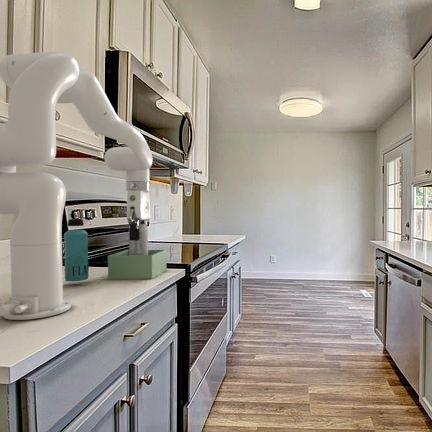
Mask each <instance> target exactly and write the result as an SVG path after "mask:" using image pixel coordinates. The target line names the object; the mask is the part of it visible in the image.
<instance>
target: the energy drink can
mask: <svg viewBox="0 0 432 432" xmlns="http://www.w3.org/2000/svg"><path fill="white" fill-rule="evenodd" d="M138 228H140V240H130V238H129V237H128V250H129V256H148V250H149V228H148V226H147V227H146V224H139V227H138Z"/></svg>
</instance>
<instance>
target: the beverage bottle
mask: <svg viewBox="0 0 432 432" xmlns="http://www.w3.org/2000/svg"><path fill="white" fill-rule="evenodd" d="M67 227H84V219H83V218H71V219H68V220H67ZM88 235H89V234H88V232H87V231H86V230H84V229H68V230H67V231H66V232H64V234H63V239H64V242H63V244H64V280H65V282H70V283H71V282H82V281H86V280H88V279H89V272H90V270H89V269H90V267H89V240H88V239H89V238H88Z"/></svg>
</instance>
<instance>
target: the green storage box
mask: <svg viewBox="0 0 432 432" xmlns="http://www.w3.org/2000/svg"><path fill="white" fill-rule="evenodd" d="M167 266H168V265H167V249H148V256H129V249H125V250H123V251H119V252H116V253H112V254H109V255H107V279H108V280H152V279H154V278H157V276H159V275H161V274H163V273H164V272H166V271H167Z"/></svg>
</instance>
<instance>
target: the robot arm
mask: <svg viewBox="0 0 432 432" xmlns="http://www.w3.org/2000/svg"><path fill="white" fill-rule="evenodd" d="M0 78H1V80H2V82H3V83H4V84H5V85H6V86H7V87H8V88H10V91H9V95H8V107H7V108H8V109H7V110H8V111H7V113H8V114H7V122H0V215H18V216H17V218H16V219H15V221H14V223H13V225H12V227H11V230H10V235H9V249H10V287H11V288H10V289H11V296H9V298H8V300H9V301H8V303H7V304H3V305H1V306H0V317H3V318H4V319H7V320H12V321H25V320H26V321H27V320H36V319H42V318H48V317H52V316H56V315H60V314H63V313H66V312H67V311H68V310H70V309H71V307H72V302H70V300H66V299H64V285H63V283H64V281H63V279H64V277H63V238H62V237H63V235H62V231H63V230H62V229H63V228H62V227H63V224H62V223H63V216H64V215H63V214H64V209H65V205H66V201H67V200H66V199H67V190H66V186H65V184H64V182H63V181H62V180H61V179H60V178H59V177H57V176H56V175H54V174H52V173H50V172H49V173H48V172H44V171H43V172H42V171H17V167H36V166H37V167H38V166H39V167H40V166H46V165H49V164H51V163H52V162H54V160H55V158H56V156H57V127H56V126H57V125H56V123H57V122H56V109H57V104H73V105H74V106H75V108H76V109H77V111H78V112H79V114H80V116H81V118H82V119H83V121H84V122H85V124H86V125H87V127H88V128H89V130H91V131H92V132H94V133H95V134H98V135H101V136H103V137H107V138H110V139H112V140H115V141H118V142H119V143H122V144H124V145H125V146H117V147H116V146H115V147H110V148H109V149H107V150H106V152H105V153H104V157H103V158H104V163H105V165H106V166H107V167H108V168H109V169H111V170H113V171H117V172H120V171H121V172H125V192H127V197H126V219H127V222H128V223H127V224H128V239H129V238H130V240H140V228H138V227H139V224H146V227H147V228H148V222H149V220H150V219H151V218H152V211H151V197H150V193H149V192H151V189H150V188H151V187H150V185H151V184H150V183H151V182H150V168H151V167H152V165H153V161H154V160H153V154H152V151H151V149H150V148H151V147H150V146H149V144H148V142H147V141H146V139H145V137H144V136H143V134H142V133H141V132H140V131H139V130H138V129H136V128H135V127H134V126H133V125H131V124H130V123H129V122H128V121H126V120H124V119H122V118H121V117H119V115H118V114H117V113H116V111H115V109H114V107H113V105H112V103H111V102H110V100H109V98H108V96H107V94H106V92H105V91H104V88H103V87H102V85H101V82H100V81H99V79H98V78H97V77H96V75H95V74H94V73H92V72H91V71H89V70H87V69H82V68H81V69H80V67H79V63H78V62H77V59H76V58H74V57H73V56H72V55H70V54H68V53H65V52H62V51H43V52H42V51H41V52H30V53H29V52H28V53H12V54H8V55H5V56H3V58H1V60H0Z"/></svg>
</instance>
